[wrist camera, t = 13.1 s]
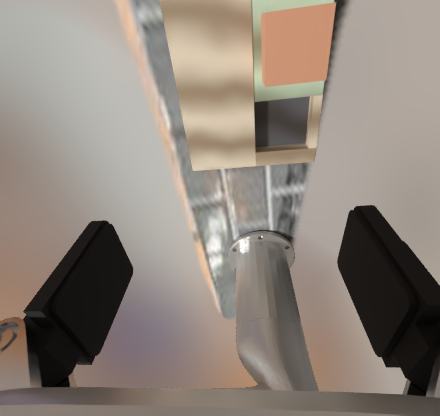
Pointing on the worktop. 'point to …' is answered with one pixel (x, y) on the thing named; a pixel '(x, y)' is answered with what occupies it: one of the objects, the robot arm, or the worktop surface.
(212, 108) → the board
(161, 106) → the worktop surface
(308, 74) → the block
